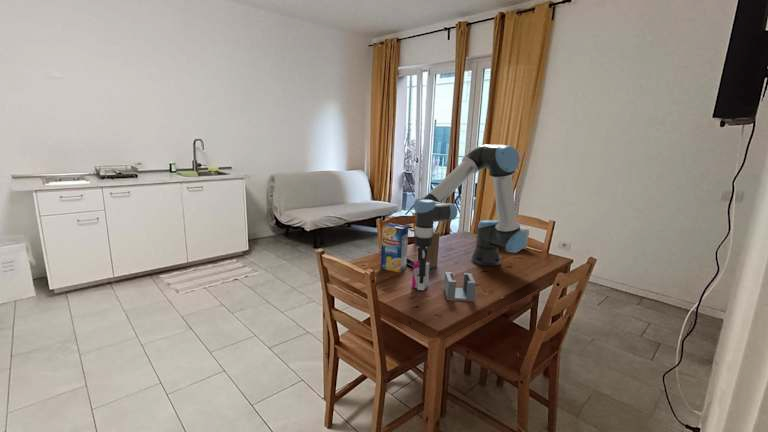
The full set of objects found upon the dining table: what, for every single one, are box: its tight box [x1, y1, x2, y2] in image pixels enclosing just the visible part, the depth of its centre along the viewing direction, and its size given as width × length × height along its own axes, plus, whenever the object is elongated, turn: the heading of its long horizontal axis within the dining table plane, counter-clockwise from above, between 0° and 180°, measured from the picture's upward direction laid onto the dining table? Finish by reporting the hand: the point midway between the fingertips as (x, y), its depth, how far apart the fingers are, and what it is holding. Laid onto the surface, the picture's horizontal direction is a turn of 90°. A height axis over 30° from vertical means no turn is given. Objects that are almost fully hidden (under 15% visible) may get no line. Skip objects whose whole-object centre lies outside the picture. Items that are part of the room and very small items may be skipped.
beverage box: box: [380, 222, 409, 273], centre depth 182 cm, size 7×11×22 cm, turn 62°
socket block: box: [443, 271, 477, 302], centre depth 155 cm, size 11×11×8 cm
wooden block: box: [426, 230, 441, 270], centre depth 187 cm, size 9×4×18 cm, turn 135°
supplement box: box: [411, 259, 430, 291], centre depth 161 cm, size 6×6×12 cm
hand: (420, 285), depth 162 cm, fingers open, 8 cm apart
